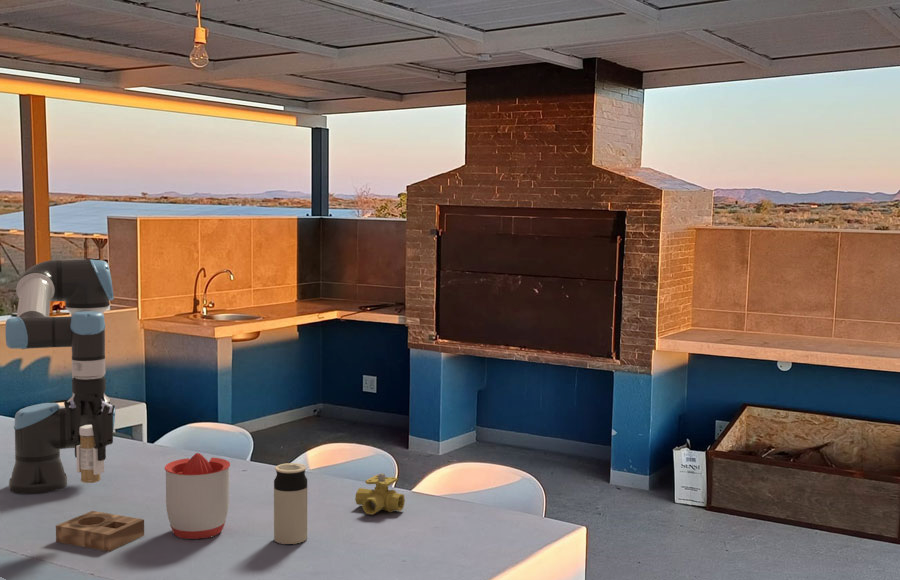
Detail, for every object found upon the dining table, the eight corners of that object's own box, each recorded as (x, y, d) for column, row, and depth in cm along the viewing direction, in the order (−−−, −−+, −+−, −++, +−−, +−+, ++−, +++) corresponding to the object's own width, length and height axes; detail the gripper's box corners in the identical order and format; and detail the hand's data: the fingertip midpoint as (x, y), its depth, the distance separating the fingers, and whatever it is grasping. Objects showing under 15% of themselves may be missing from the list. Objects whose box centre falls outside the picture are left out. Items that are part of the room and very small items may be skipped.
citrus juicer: (232, 518, 241) (232, 442, 239) (228, 541, 224) (228, 460, 222) (170, 520, 238) (169, 444, 237) (161, 544, 221) (160, 462, 220)
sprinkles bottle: (99, 477, 228) (98, 423, 227) (101, 482, 224) (100, 427, 223) (79, 479, 226) (78, 424, 225) (81, 484, 222) (80, 428, 221)
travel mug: (292, 547, 221) (292, 473, 219) (267, 541, 225) (266, 468, 223) (314, 538, 227) (314, 465, 226) (289, 531, 232) (289, 460, 230)
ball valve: (406, 509, 251) (407, 472, 250) (389, 520, 242) (390, 482, 241) (365, 503, 256) (365, 467, 255) (347, 514, 246) (347, 476, 246)
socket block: (56, 541, 222) (55, 525, 222) (92, 526, 233) (92, 510, 233) (109, 551, 216) (109, 534, 216) (144, 535, 228) (144, 519, 227)
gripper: (48, 376, 222) (50, 471, 224) (106, 381, 216) (108, 480, 218) (72, 371, 229) (73, 464, 231) (128, 376, 223) (130, 472, 225)
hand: (90, 472), depth 225 cm, fingers closed on sprinkles bottle, 4 cm apart
